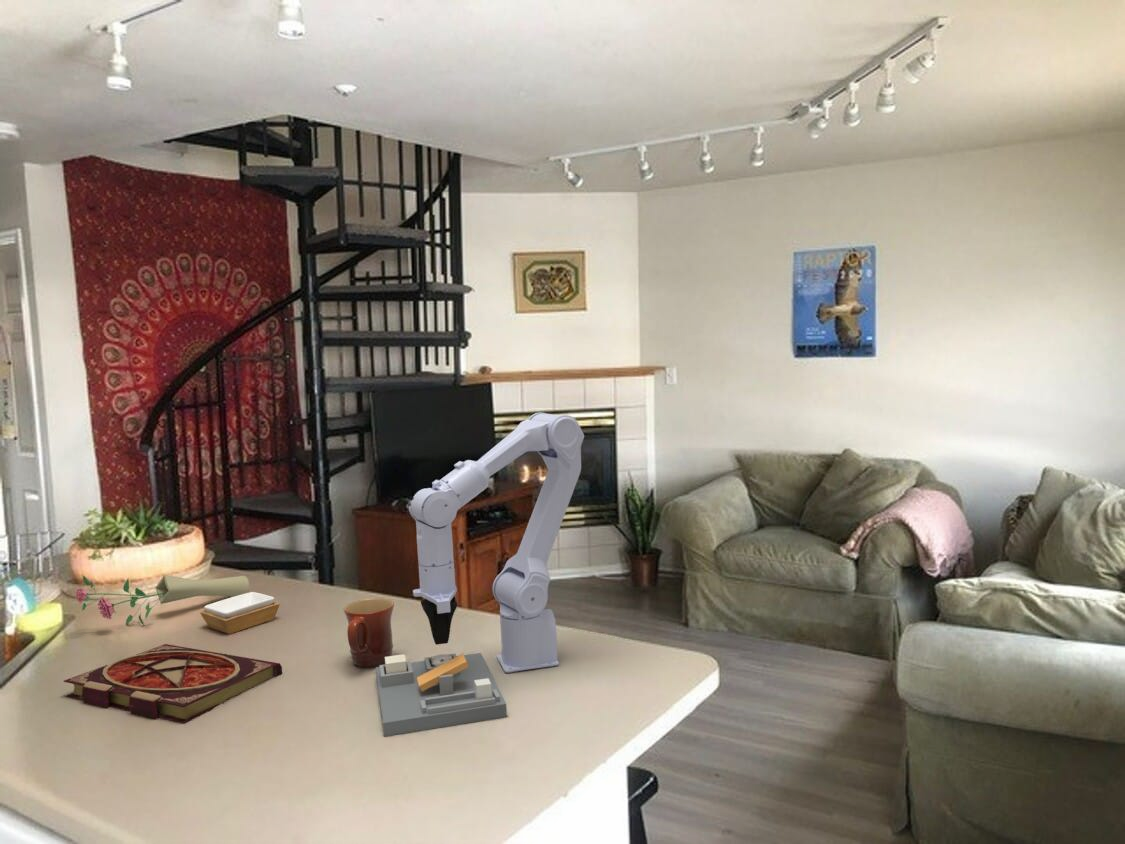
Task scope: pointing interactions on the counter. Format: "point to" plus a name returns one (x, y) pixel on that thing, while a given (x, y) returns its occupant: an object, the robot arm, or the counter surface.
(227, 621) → the soap dish
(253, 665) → the book
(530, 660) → the robot arm
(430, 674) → the rocker
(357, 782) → the counter surface
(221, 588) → the flower vase
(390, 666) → the button square
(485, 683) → the slider knob
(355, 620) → the mug
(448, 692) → the console
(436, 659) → the button round
